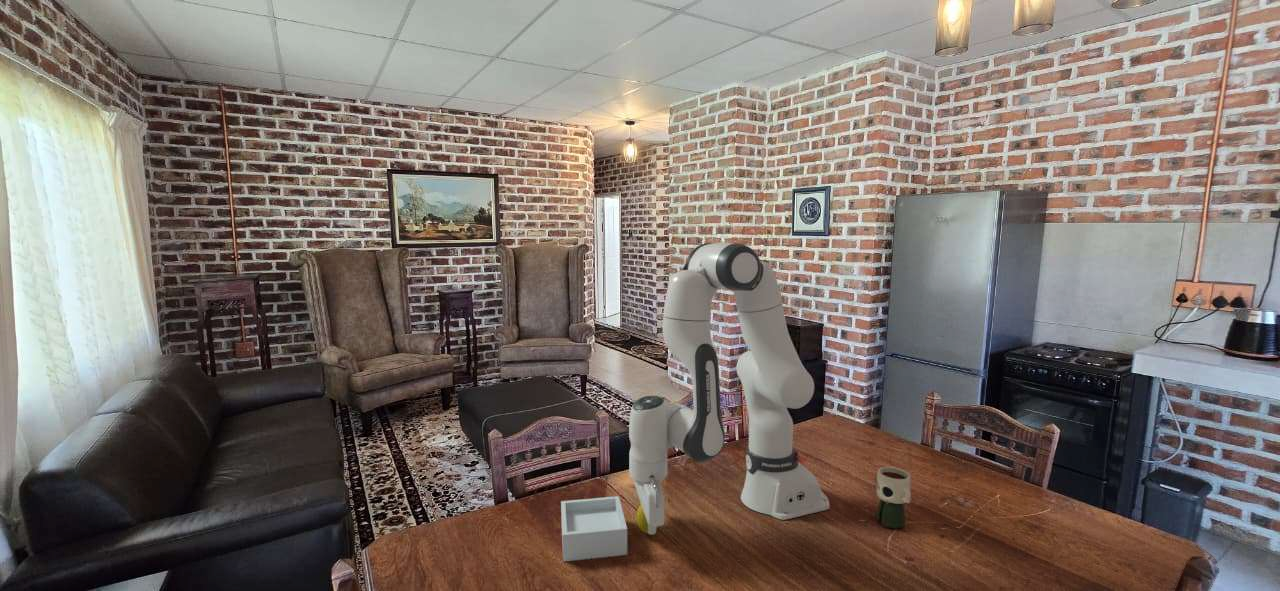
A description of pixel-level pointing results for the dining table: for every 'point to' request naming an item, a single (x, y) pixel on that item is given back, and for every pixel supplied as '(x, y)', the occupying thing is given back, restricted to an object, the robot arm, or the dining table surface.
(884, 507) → the character mug
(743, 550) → the dining table surface
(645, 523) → the lemon
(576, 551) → the white open box
